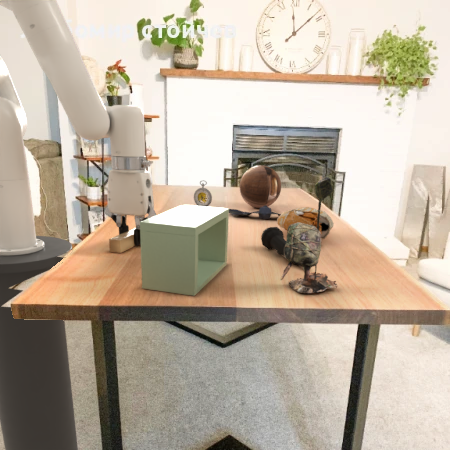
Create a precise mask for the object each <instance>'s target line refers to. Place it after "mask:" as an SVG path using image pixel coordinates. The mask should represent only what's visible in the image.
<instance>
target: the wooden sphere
mask: <svg viewBox="0 0 450 450" xmlns="http://www.w3.org/2000/svg"><path fill="white" fill-rule="evenodd" d="M281 192H282V181H281V178H280V176H279V174H278V173H277V171H276V170H274V169H273V168H272V167H270V166H267V165H263V164H259V165H254V166H252V167H250V168H248V169H247V170H246V171H245V172H244V173H243V175H242V176H241V178H240V182H239V193H240V196H241V198H242V199H243V201H244V202H245V203H246V204H247V205H249V206H250V207H253V208H256V209H260V207H263V206H264V205H266V206H267V207H271V205H273V204H274V203H275V202H276V201H277V200H278V199H279V197H280V194H281Z"/></svg>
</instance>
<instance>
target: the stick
mask: <svg viewBox="0 0 450 450" xmlns="http://www.w3.org/2000/svg"><path fill="white" fill-rule="evenodd" d="M134 229H136V227H134V228H132V229H129V231H127V232H125V233H122V234H120V235H119V234H117V235H116V236H113V237H111V238H108V245H109V253H115V254H116V253H117V254H122V253H124V252H126V251H128V250H130V249H132V248H134V247H137V246H136V245H134Z"/></svg>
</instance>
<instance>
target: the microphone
mask: <svg viewBox="0 0 450 450" xmlns="http://www.w3.org/2000/svg"><path fill="white" fill-rule="evenodd" d="M260 240H261V244H262V246H263V247H265V249H267V250H268V251H269V250H270V251H271V250H275V251H276V253H277V254H278V255H279V256H283V257H284V247H285V245H286V240H287V239H285V236H284V232H283V231H282V229H280V228H279V227H278V226H269V227H266V228H265V229H264V230H263V231H262V234H261V237H260ZM292 264H294V265H297V266H299V267H301V268H303V266H302V265H301V264H299V263H296V262H293V261H292Z"/></svg>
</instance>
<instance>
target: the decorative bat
mask: <svg viewBox="0 0 450 450" xmlns="http://www.w3.org/2000/svg"><path fill="white" fill-rule="evenodd" d="M229 214H231V215H232V216H248V217H249V216H252V214H258V218H259V219H263V220H269V219H271V217H272V215H277V216H278V217H279V216H280V215H281V214H282V213H278V212H274V211H272V208H271V207H270V206H268V207H267V206H266V205H264V206H263V207H260V208H258V210H256V211H255V210H254V211H252V212H251V211H250V212H248V211H243V210H240V209H235V208H229Z"/></svg>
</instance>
